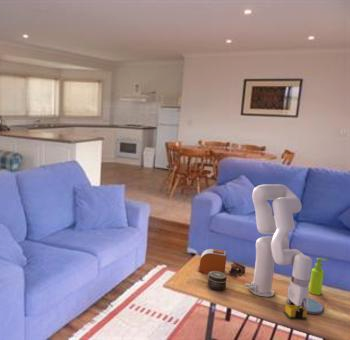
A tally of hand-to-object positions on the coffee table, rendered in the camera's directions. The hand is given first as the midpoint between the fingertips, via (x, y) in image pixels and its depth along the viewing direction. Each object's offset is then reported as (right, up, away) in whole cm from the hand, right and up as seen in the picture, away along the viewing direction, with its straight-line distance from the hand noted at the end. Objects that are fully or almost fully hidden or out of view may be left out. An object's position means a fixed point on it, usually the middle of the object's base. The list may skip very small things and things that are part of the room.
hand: (295, 314), depth 182 cm
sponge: (0, -1, 0) cm, 1 cm away
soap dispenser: (+25, +2, +25) cm, 35 cm away
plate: (+11, +1, +10) cm, 15 cm away
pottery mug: (-12, +7, +43) cm, 45 cm away
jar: (-30, +5, +26) cm, 40 cm away
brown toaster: (-26, +8, +47) cm, 55 cm away
